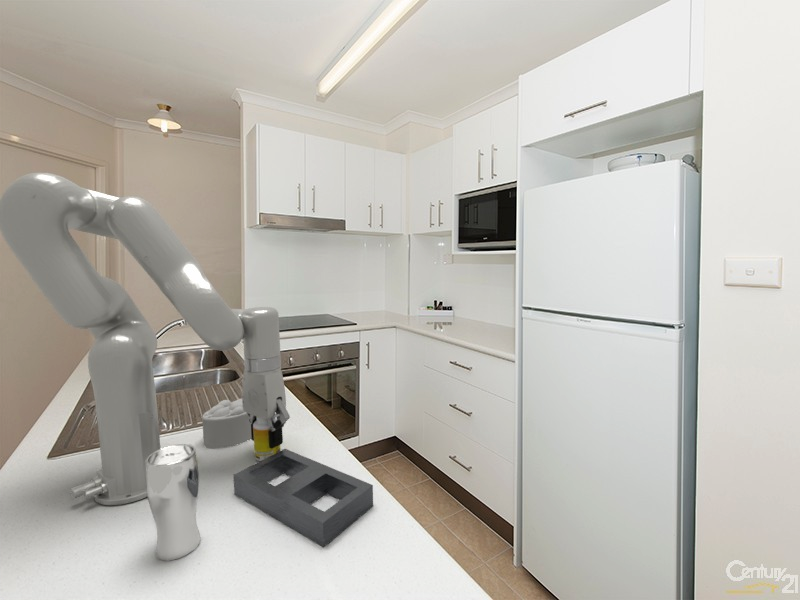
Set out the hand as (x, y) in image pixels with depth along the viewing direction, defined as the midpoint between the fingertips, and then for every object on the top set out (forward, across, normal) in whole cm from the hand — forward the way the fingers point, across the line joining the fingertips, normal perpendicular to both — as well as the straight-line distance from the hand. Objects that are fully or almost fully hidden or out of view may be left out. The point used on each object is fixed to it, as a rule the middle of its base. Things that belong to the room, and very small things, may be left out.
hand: (267, 441), depth 87 cm
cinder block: (+4, +19, -6) cm, 20 cm away
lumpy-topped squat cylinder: (+4, -16, +1) cm, 16 cm away
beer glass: (+4, +12, -25) cm, 28 cm away
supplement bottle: (+4, 0, 0) cm, 4 cm away
